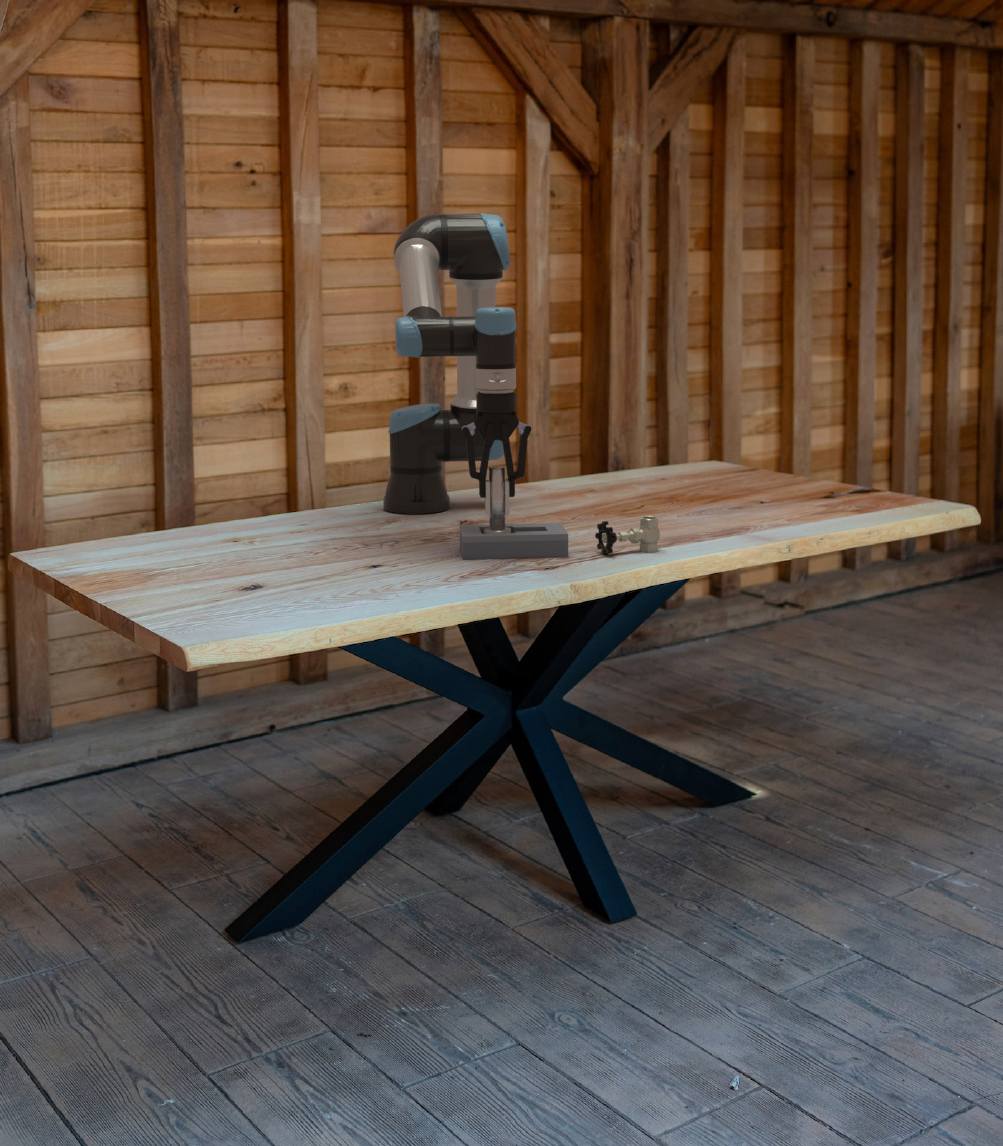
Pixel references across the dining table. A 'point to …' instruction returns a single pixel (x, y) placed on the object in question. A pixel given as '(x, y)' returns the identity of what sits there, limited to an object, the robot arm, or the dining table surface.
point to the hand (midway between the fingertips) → (497, 513)
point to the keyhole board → (514, 541)
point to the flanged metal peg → (497, 501)
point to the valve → (630, 535)
